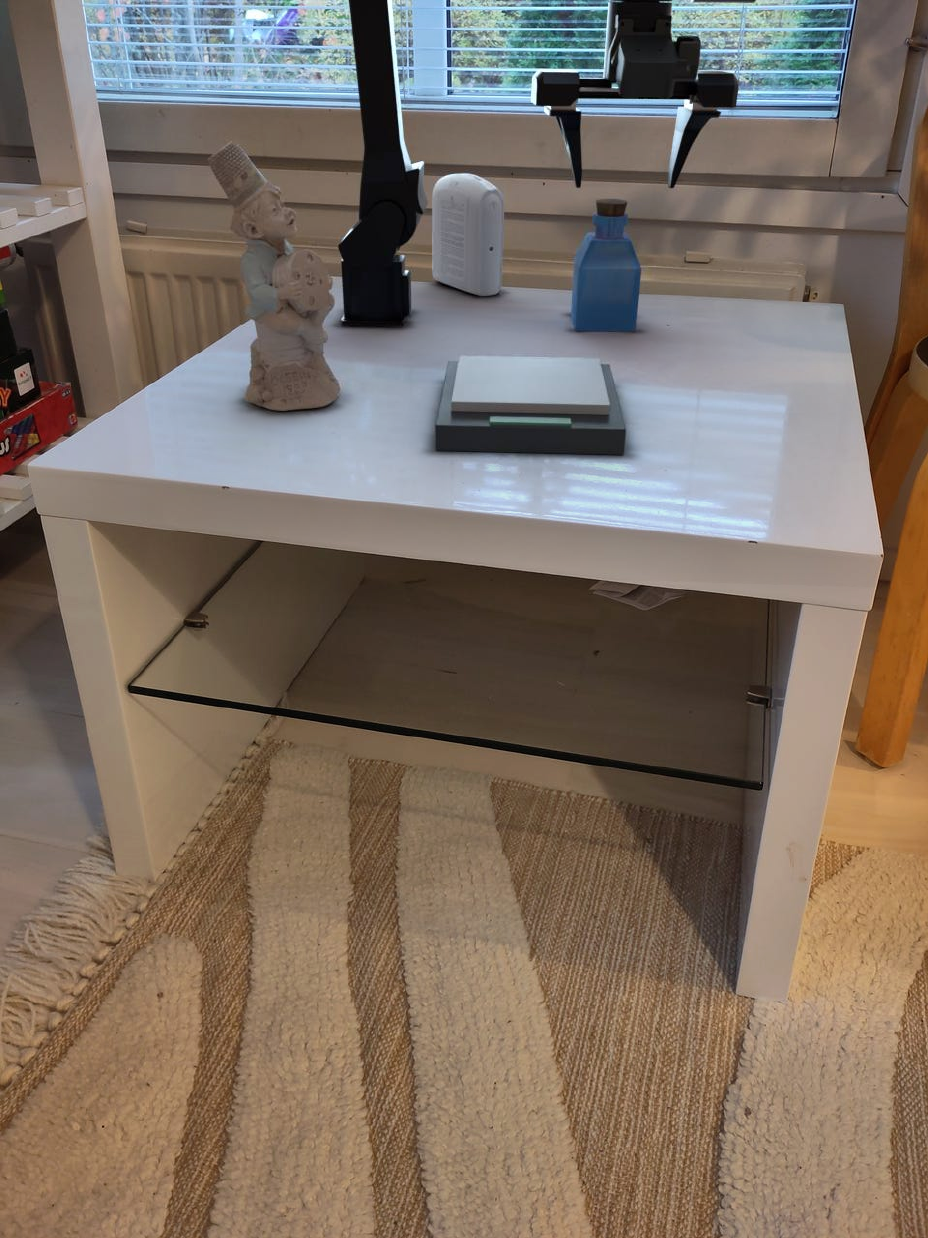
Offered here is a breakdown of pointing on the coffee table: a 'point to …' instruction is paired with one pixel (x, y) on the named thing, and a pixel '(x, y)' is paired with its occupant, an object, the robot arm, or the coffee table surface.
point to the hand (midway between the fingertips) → (624, 187)
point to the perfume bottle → (606, 274)
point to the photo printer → (467, 234)
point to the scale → (529, 406)
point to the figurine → (278, 291)
